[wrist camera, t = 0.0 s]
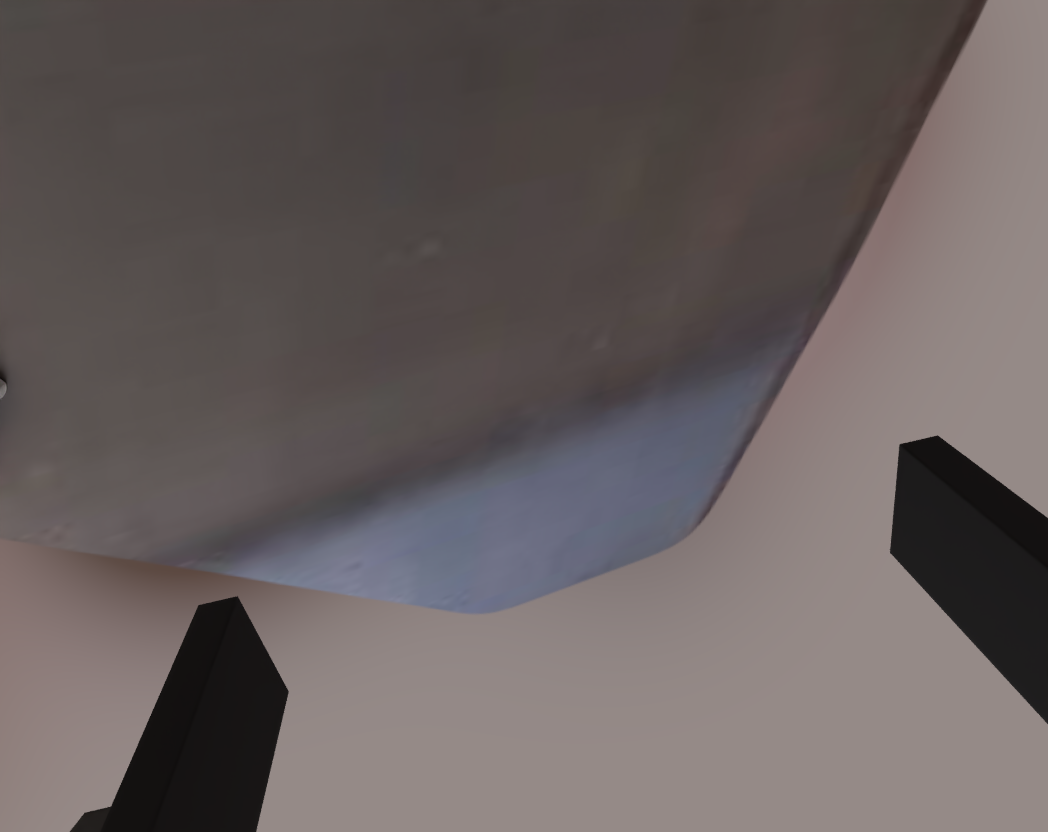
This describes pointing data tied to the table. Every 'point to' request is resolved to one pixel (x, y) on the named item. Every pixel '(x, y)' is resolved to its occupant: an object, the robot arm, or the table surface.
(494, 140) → the table surface
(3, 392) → the egg carton
